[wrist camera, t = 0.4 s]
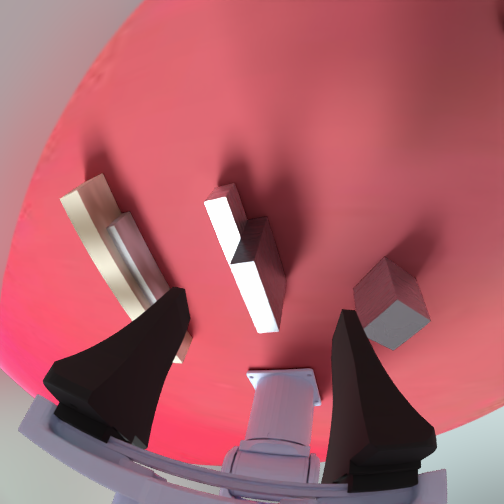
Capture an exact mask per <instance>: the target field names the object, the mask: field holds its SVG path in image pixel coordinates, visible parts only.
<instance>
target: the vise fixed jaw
mask: <svg viewBox="0 0 504 504" xmlns="http://www.w3.org/2000/svg"><path fill="white" fill-rule="evenodd" d="M60 200H61V202H62V204H63V206H64V208H65V210H66V212H67V214H68V216H69V218H70V220H71V222H72V224H73V226H74V228H75V230H76V232H77V233H78V235H79V237H80V239H81V241H82V243H83V244H84V246H85V248H86V250H87V251H88V253H89V255H90V256H91V258H92V260H93V262H94V263H95V265H96V267H97V268H98V270H99V271H100V273H101V275H102V276H103V278H104V279H105V281H106V283H107V284H108V286H109V287H110V289H111V290H112V292H113V293H114V295H115V296H116V298H117V299H118V301H119V302H120V304H121V305H122V307H123V308H124V310H125V311H126V313H127V314H128V315H129V317H130V318H131V320H132V321H133V320H135V319H136V318H137V317H139V316H140V315H141V314H142V313H143V312H145V311H146V310H147V309H148V308H149V307H150V306H152V305H153V304H154V303H155V302H156V301H157V300H158V299H160V298H161V297H162V296H163V295H164V294H165V293H166V292H167V291H169V290H170V287H169V286H168V284H167V282H166V280H165V278H164V277H163V275H162V273H161V271H160V269H159V267H158V266H157V264H156V262H155V260H154V258H153V256H152V254H151V253H150V251H149V249H148V247H147V245H146V243H145V241H144V239H143V237H142V235H141V233H140V231H139V229H138V227H137V225H136V223H135V221H134V219H133V217H132V215H131V213H130V211H129V212H125V213H122V214H121V212H120V210H119V207H118V205H117V203H116V201H115V199H114V197H113V195H112V193H111V191H110V188H109V186H108V184H107V182H106V179H105V177H104V175H103V173H102V174H100V175H98V176H96V177H94V178H92V179H90V180H88V181H86V182H84V183H82V184H81V185H79V186H78V187H76V188H75V189H73V190H72V191H70V192H69V193H68V194H66V195H65V196H63V197H62V198H60ZM191 342H192V337H191V336H190V334H189V332H188V331H186V334H185V337H184V339H183V341H182V344H181V346H180V348H179V350H178V352H177V354H176V356H175V358H174V361H173V363H183V361H184V359H185V356H186V354H187V351H188V349H189V347H190V344H191Z"/></svg>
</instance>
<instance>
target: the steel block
mask: <svg viewBox="0 0 504 504" xmlns="http://www.w3.org/2000/svg"><path fill="white" fill-rule="evenodd" d="M353 291H354V299H355V308H356V312H357V315H358V317H359V320H360V322H361V324H362V326H363V329H364V331H365V333H366V335H367V337H368V338H369V339H371V340H373V341H375V342H377V343H379V344H381V345H383V346H385V347H387V348H389V349H391V350H395V349H396V348H397V347H399V346H400V345H401V344H403V343H404V342H405V341H407V340H408V339H409V338H411V337H412V336H413V335H414V334H416V333H417V332H418V331H419V330H421V329H422V328H423V327H424V326H426V325H427V324H428V323H429V322H430V321H431V320H430V317H429V314H428V311H427V308H426V305H425V302H424V299H423V296H422V294H421V291H420V288H419V286H418V283H417V280H416V278H414V277H413V276H412V275H410V274H409V273H407V272H406V271H405V270H403V269H402V268H400V267H399V266H398V265H396V264H395V263H393V262H392V261H390V260H389V259H388V258H386V257H385V256H384V257H383V258H382V259H381V260H380V262H379V263H378V264H377V265H376V266H375V267H374V268H373V269H372V270H371V271H370V272H369V273H368V274H367V275H366V276H365V277H364V278H363V279H362V280H361V281H360V282H359V283H358V284H357V285H356V286H355V287H354V288H353Z"/></svg>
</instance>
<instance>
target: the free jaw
mask: <svg viewBox="0 0 504 504" xmlns="http://www.w3.org/2000/svg"><path fill="white" fill-rule="evenodd" d="M204 203H205V206H206V208H207V211H208V213H209V216H210V218H211V221H212V223H213V226H214V228H215V231H216V233H217V236H218V238H219V241H220V243H221V246H222V248H223V250H224V253H225V255H226V258H227V260H228V263H229V265H230V268H231V270H232V272H233V275H234V277H235V280H236V282H237V284H238V287H239V289H240V291H241V294H242V296H243V299H244V301H245V303H246V306H247V308H248V310H249V313H250V315H251V317H252V320H253V322H254V324H255V327H256V329H257V331H258V333H265V332H279V329H280V322H281V316H282V309H283V302H284V295H285V288H286V277H285V274H284V270H283V267H282V264H281V260H280V257H279V254H278V250H277V247H276V244H275V240H274V237H273V234H272V230H271V227H270V224H269V221H268V217H267V216H266V217H261V218H256V219H250V220H247V217H246V214H245V211H244V208H243V205H242V202H241V199H240V197H239V194H238V191H237V188H236V185H235V183H232V184H228V185H224V186H219V187H216V188H215V189H214V190H213V191H212V192H211V194H210V195H209V196H208V198H207V199H206V200H205V201H204Z"/></svg>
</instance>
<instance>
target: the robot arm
mask: <svg viewBox="0 0 504 504" xmlns="http://www.w3.org/2000/svg"><path fill="white" fill-rule="evenodd" d="M189 321H190V314H189V309H188V304H187V298H186V293H185V289H184V288H178V287H172V288H171V289H170V290H169V291H167V292H166V293H165V294H164V295H163V296H162V297H161V298H160V299H158V300H157V301H156V302H155V303H154V304H153V305H152V306H150V307H149V308H148V309H147V310H146V311H145V312H143V313H142V314H141V315H140V316H139V317H137V318H136V319H135V320H133V321H132V322H131V323H130V324H128V325H127V326H126V327H124V328H123V329H121V330H120V331H119V332H117V333H115V334H114V335H112V336H111V337H109V338H108V339H106V340H104V341H102V342H100V343H98V344H97V345H95V346H93V347H91V348H89V349H87V350H85V351H82V352H80V353H78V354H75V355H73V356H70V357H67V358H64V359H61V360H58V361H55V362H54V364H53V365H52V367H51V368H50V370H49V371H48V373H47V375H46V376H45V378H44V379H43V383H44V385H45V387H46V388H47V389H48V390H49V391H50V392H51V393H52V395H53V396H54V397H55V398H56V399H57V400H58V401H59V402H60V403H59V404H58V406H56V405H55V404H54V403H52V402H51V401H49V400H47V399H46V398H44V397H43V396H41V395H39V394H37V396H36V398H35V399H34V401H33V403H32V404H31V406H30V408H29V410H28V412H27V413H26V415H25V417H24V419H23V421H22V423H21V424H20V426H19V428H18V431H19V432H21V433H22V434H23V435H24V436H26V437H27V438H28V439H30V440H31V441H32V442H34V443H35V444H36V445H38V446H39V447H40V448H42V449H43V450H45V451H46V452H48V453H49V454H50V455H52V456H53V457H55V458H56V459H58V460H59V461H61V462H63V463H64V464H66V465H67V466H69V467H70V468H72V469H74V470H75V471H77V472H79V473H80V474H82V475H84V476H86V477H88V478H89V479H91V480H93V481H95V482H97V483H98V484H100V485H102V486H104V487H106V488H108V489H110V490H112V491H114V492H116V494H115V496H114V499H113V502H112V504H275V503H266V502H257V501H250V500H246V499H243V498H241V497H245V498H252V499H260V500H268V501H278V502H280V503H278V504H447V477H446V469H441V470H436V471H432V472H426V473H422V474H419V475H418V469H419V468H421V460H422V459H424V458H426V457H427V456H429V455H430V454H432V453H433V452H434V451H435V450H436V448H437V443H436V435H435V431H434V427H433V426H431V425H430V424H429V423H428V422H427V421H426V420H425V419H424V418H423V417H422V416H421V415H420V414H419V413H418V412H417V411H416V410H415V409H414V408H413V407H412V406H411V405H410V403H409V402H408V401H407V400H406V398H405V397H404V396H403V395H402V394H401V392H400V391H399V390H398V388H397V387H396V386H395V384H394V383H393V381H392V380H391V378H390V377H389V375H388V374H387V372H386V371H385V369H384V367H383V366H382V364H381V362H380V361H379V359H378V357H377V355H376V353H375V351H374V349H373V347H372V345H371V343H370V342H369V339H368V337H367V335H366V333H365V331H364V329H363V326H362V324H361V322H360V320H359V317H358V315H357V312H356V311H355V310H345V309H342V311H341V314H340V317H339V320H338V323H337V327H336V330H335V333H334V336H333V339H332V356H331V362H332V385H333V411H332V421H331V430H330V438H329V445H328V451H327V457H326V463H325V468H324V473H323V477H322V481H321V484H318V479H319V471H320V470H319V469H320V459H319V458H318V457H317V456H316V454H315V453H311V454H310V446H309V444H310V441H311V433H312V423H313V411H314V406H320V405H321V399H320V395H319V391H318V387H317V383H316V379H315V375H314V371H313V369H311V368H305V369H287V370H255V371H247V374H246V375H247V377H248V378H249V380H250V382H251V383H252V385H253V387H254V388H255V395H254V399H253V404H252V409H251V413H250V418H249V423H248V427H247V432H246V436H245V440H241V442H240V446H234V447H233V448H232V449H230V450H229V451H228V452H227V454H226V456H225V458H224V461H223V464H222V468H221V471H216V470H212V469H207V468H203V467H199V466H195V465H191V464H188V463H184V462H181V461H177V460H174V459H171V458H168V457H164V456H161V455H158V454H155V453H153V452H150V451H147V450H144V449H146V448H148V442H149V437H150V432H151V427H152V423H153V419H154V415H155V411H156V407H157V404H158V400H159V397H160V393H161V390H162V387H163V384H164V381H165V378H166V376H167V374H168V371H169V369H170V367H171V365H172V363H173V361H174V358H175V356H176V354H177V352H178V350H179V348H180V346H181V344H182V341H183V339H184V337H185V334H186V331H187V328H188V325H189ZM309 454H310V457H309ZM133 461H135V462H137V463H140V464H143V465H145V466H148V467H151V468H153V469H156V470H159V471H162V472H165V473H168V474H171V475H175V476H178V477H181V478H185V479H188V480H192V481H196V482H199V483H203V484H207V485H211V486H216V487H220V493H219V496H218V495H214V494H210V493H206V492H202V491H197V490H194V489H190V488H186V487H183V486H179V485H176V484H172V483H169V482H167V480H166V479H164V478H162V477H160V476H159V475H157V474H156V473H154V471H152V470H150V469H148V468H146V467H143V466H141V465H139V464H137V463H134V462H133Z"/></svg>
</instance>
